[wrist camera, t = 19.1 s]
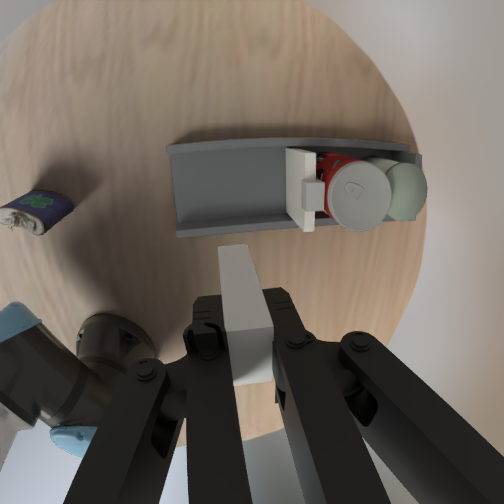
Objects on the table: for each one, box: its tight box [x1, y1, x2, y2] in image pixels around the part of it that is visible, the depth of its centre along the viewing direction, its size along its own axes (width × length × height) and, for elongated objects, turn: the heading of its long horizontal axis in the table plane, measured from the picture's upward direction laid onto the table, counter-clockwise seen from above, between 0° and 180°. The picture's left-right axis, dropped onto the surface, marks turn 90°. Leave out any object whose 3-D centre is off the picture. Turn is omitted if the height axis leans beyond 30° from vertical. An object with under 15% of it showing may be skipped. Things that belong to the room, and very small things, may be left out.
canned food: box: [316, 152, 392, 231], centre depth 32 cm, size 8×8×11 cm
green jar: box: [360, 156, 427, 221], centre depth 34 cm, size 7×7×9 cm
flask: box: [0, 190, 74, 236], centre depth 29 cm, size 9×3×11 cm, turn 71°
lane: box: [166, 137, 422, 238], centre depth 35 cm, size 33×12×7 cm, turn 92°
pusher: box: [285, 148, 325, 232], centre depth 32 cm, size 2×9×10 cm, turn 2°
